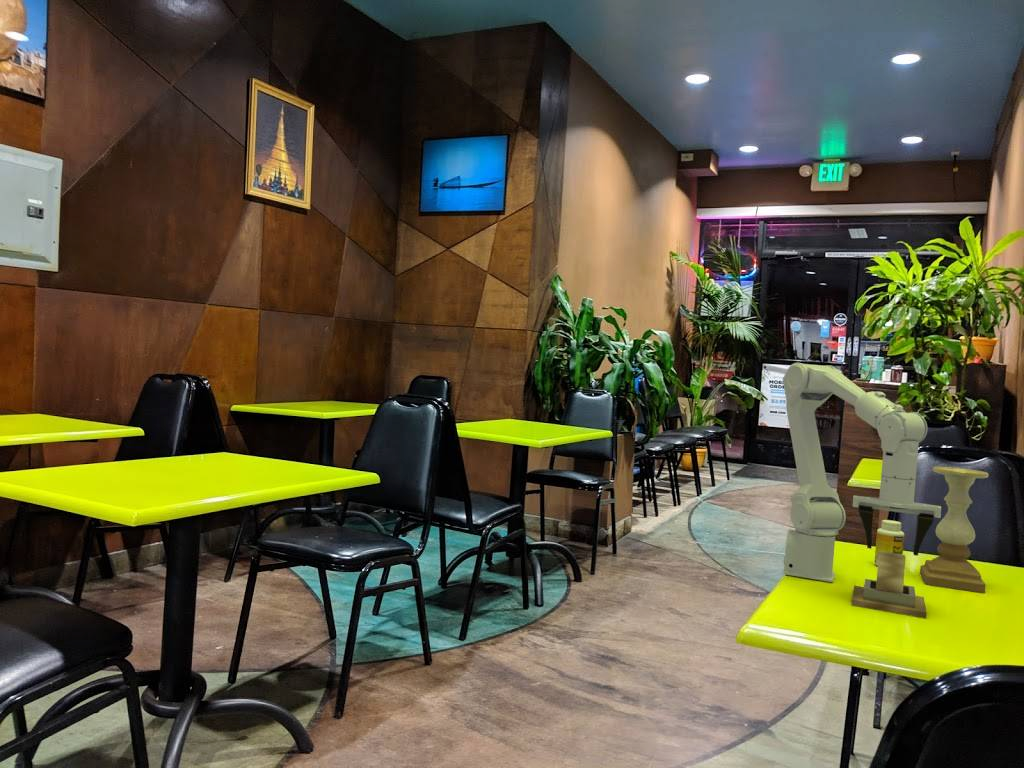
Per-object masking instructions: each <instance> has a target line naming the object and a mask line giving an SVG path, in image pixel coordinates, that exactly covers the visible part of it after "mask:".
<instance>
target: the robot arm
mask: <svg viewBox="0 0 1024 768" xmlns="http://www.w3.org/2000/svg"><path fill="white" fill-rule="evenodd" d="M782 383H783V388H784V393H785V395H784V396H785V400H786V401H785V402H786V403H785V405H786V408H785V409H786V415H787V420H788V426H789V433H790V436H791V437H790V438H791V442H792V449H793V454H794V461H795V466H796V467H795V468H796V472H797V479H798V484H799V488H798V489H796V491H795V492H794V493H793V494H791V497H790V501H791V502H790V503H791V508H790V520H791V523H792V526H793V527H794V529H788V530H787V534H786V539H785V540H786V541H785V553H784V554H785V555H784V557H783V572H782V573H783V575H785V576H786V575H787V576H793V577H798V578H805V579H811V580H817V581H821V582H829V583H834V579H835V576H836V572H834V571H833V569H834V556H835V545H836V544H835V543H836V536H838V535H839V531H840V530H841V529H842V528H844V526H845V524H846V519H847V518H846V517H847V515H846V510H845V509H844V506H843V505H842V503H841V501H840V497H839V493H837V491H836V490H835V489H834V488H832V487H831V486H830V485H829V484H828V480H827V474H826V469H825V465H824V464H825V463H824V458H823V453H822V449H821V442H820V435H819V430H818V427H817V426H818V425H817V420H816V416H815V415H816V414H815V413H816V411H817V409H818V408H819V407H821V406H822V405H823V404H824V403H826V402H827V400H828V399H829V398H831V396H832V395H835V396H836V397H838V398H840V399H841V400H843V401H845V402H846V403H848V404H850V405H852V406H853V407H854V411H855V412H854V413H855V414H856V416H857V417H859V418H860V419H861V420H862V421H864V422H865V423H867V424H868V425H870V426H871V427H872V428H874V429H875V430H876V431H877V433H878V436H879V439H880V440H881V444H880V448H881V450H882V452H883V453H882V461H881V473H880V485H879V486H880V487H879V497H874V496H865V495H864V496H862V495H861V496H860V495H853V498H852V507H853V508H858V514H859V517H860V518H861V522H862V525H863V529H864V531H865V532H864V533H865V537H866V545H867V546H866V548H867V549H871V550H872V548H873V547H872V546H873V518H874V510H880V511H886V512H895V513H901V514H902V513H903V514H911V515H917V516H916V529H915V530H916V531H915V532H916V533H915V538H914V539H915V540H914V544H913V551H912V552H913V556H919V553H920V548H921V545H922V543H923V542H924V538H925V536H926V535H927V533H928V531H929V529H930V528H931V527H932V525H933V523H934V521H935V519H936V518H938V519H941V516H942V506H941V505H934V504H928V503H921V502H915V494H916V493H915V491H916V478H917V470H918V468H917V467H918V457H919V456H918V455H919V446H920V445H919V444H920V443H921V442H922V441H924V440H925V438H926V436H927V434H928V424H927V421H926V419H925V418H924V417H923V416H922V415H921V414H920V412H918V411H917V412H916V411H909V412H906V411H905V410H904V406H902V405H901V404H895V403H894V402H892V401H891V400H890V399H888V398H886V394H885V393H884V392H882V391H868V392H866V391H865V390H864V389H862V388H861V387H859V386H858V385H857V384H855V383H854V382H853V381H852V380H850V379H849V378H848V377H846V376H845V375H844V374H843V372H842V370H840V369H837V368H836V367H834V366H833V365H827V364H826V365H820V364H819V365H818V364H809V363H801V362H794V363H792V364H791V365H790V366H789V367H788V368H787V370H786V371H785V374H784V376H783V377H782ZM934 518H935V519H934Z"/></svg>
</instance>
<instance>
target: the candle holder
mask: <svg viewBox="0 0 1024 768" xmlns="http://www.w3.org/2000/svg"><path fill="white" fill-rule="evenodd" d="M932 471H933V472H934V473H936V474H939V475H943V476H944V479H945V482H946V483H947V484H948V489H949V490H948V493H947V494H946V496H944V497H943V501H945V504H946V505H947V512H946V513H945V515H944V517H943V518H942V519H941V520H940V521H939V522H938V524H937V525H936V528H935V535H936V537H937V538H938V539H939V541H941V543H940V544H939V545H938V546H937V548H936V549H937V553H939V556H936V557H934V558H932V560H931V559H926V560H925V561H924V564H922V565H920V568H919V575H921V576H920V577H921V580H922V583H924V585H927V586H931V587H932V586H933V587H939V588H944V589H945V588H946V589H951V590H958V591H964V592H965V591H966V592H971V593H972V592H973V593H978V594H979V593H980V594H986V588H987V587H986V583H985V581H984V580H983V579H982V574H981V573H980V571H979V570H978V569H977V568H976V567H975V565H973V564H972V563H971V561H968V560H967V559H968V558H969V557H971V550H970V548H969V547H968V545H970V544H971V543H973V542H974V541H975V539H976V532H975V529H974V527H973V525H972V524H971V522H970V520H969V518H968V515H967V510H968V509H969V508H970V505H972V504H973V500H972V499H971V497H970V495H969V491H970V488H971V486H972V485H974V483H975V481H976V479H987V478H989V473H988V472H986V471H982V470H978V469H977V470H975V469H970V468H963V467H962V468H961V467H950V466H933V467H932Z"/></svg>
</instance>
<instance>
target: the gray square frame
mask: <svg viewBox="0 0 1024 768" xmlns="http://www.w3.org/2000/svg"><path fill="white" fill-rule="evenodd" d="M876 582H877V579H876V580H874V579H869V578H865V579H864V584H863V585H864V586H863V587H864V594H863V599H864V600H870V601H876V602H882V603H888V604H893V605H899V606H905V607H911V608H915V601H916V596H917V595H916V588H915V586H912V585H905V584H904V585H903V594H902V593H896V592H890V591H884V590H878V589H876Z"/></svg>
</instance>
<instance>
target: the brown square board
mask: <svg viewBox="0 0 1024 768" xmlns="http://www.w3.org/2000/svg"><path fill="white" fill-rule="evenodd" d="M863 594H864V586H860V585H854V586H853V592H852V596H851V606H854V607H860V608H865V609H871V610H877V611H881V610H882V612H887V611H889V612H888V613H893V612H895V613H894V614H898V613H900V614H899V615H904V614H905V615H906V616H910V615H911V616H910V617H916V618H921V617H922V619H927V616H928V611H927V607H926V602H925V596H921V595H916V601H915V608H911V607H905V606H899V605H893V604H888V603H882V602H876V601H870V600H864V599H863Z"/></svg>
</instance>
